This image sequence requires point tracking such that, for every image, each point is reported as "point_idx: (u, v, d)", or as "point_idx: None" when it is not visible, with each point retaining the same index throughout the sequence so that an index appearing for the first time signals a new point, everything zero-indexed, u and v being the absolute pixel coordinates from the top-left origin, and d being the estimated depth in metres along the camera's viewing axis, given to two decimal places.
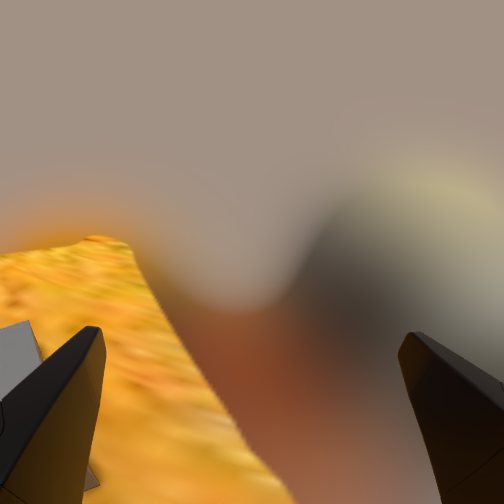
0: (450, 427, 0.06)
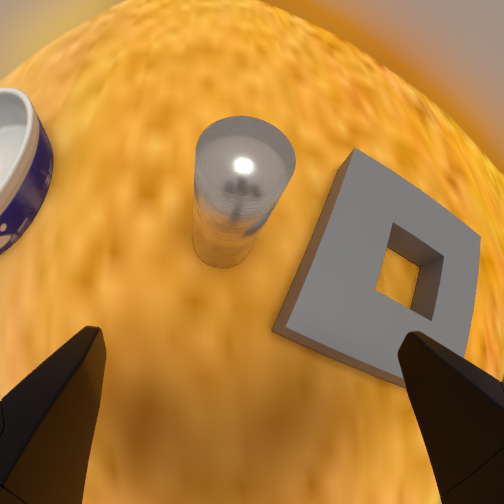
0: (450, 427, 0.06)
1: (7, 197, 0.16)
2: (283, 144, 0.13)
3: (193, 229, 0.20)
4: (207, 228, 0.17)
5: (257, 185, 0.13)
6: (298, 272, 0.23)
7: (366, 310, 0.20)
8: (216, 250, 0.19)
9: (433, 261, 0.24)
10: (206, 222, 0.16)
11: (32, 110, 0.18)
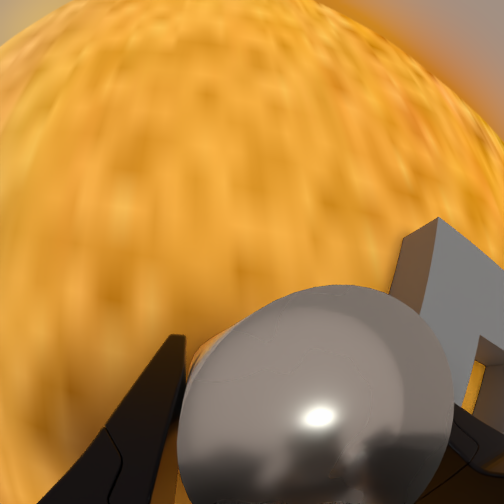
0: None
1: None
2: (435, 375, 0.04)
3: None
4: None
5: None
6: None
7: None
8: None
9: None
10: None
11: None
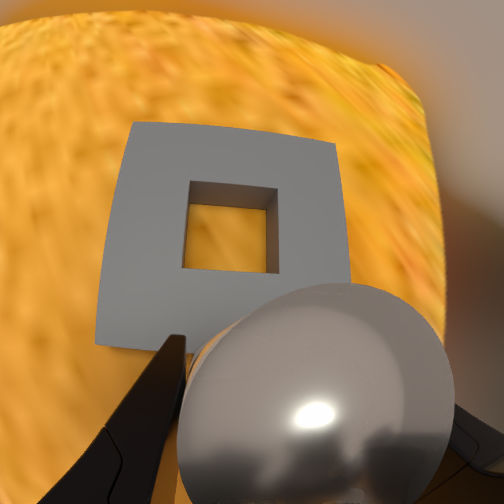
0: None
1: None
2: (435, 374, 0.04)
3: None
4: None
5: None
6: None
7: (177, 295, 0.18)
8: None
9: (272, 198, 0.23)
10: None
11: None
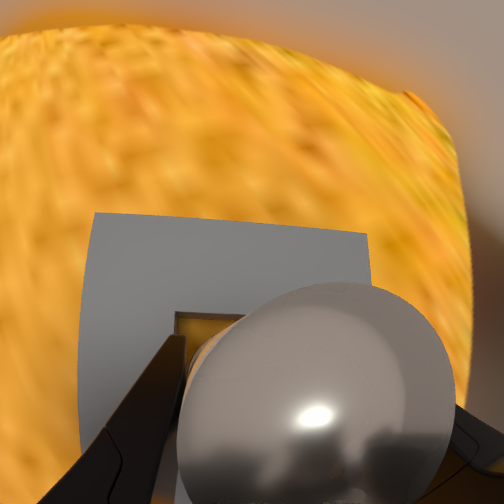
0: None
1: None
2: (436, 373, 0.04)
3: None
4: None
5: None
6: None
7: None
8: None
9: None
10: None
11: None
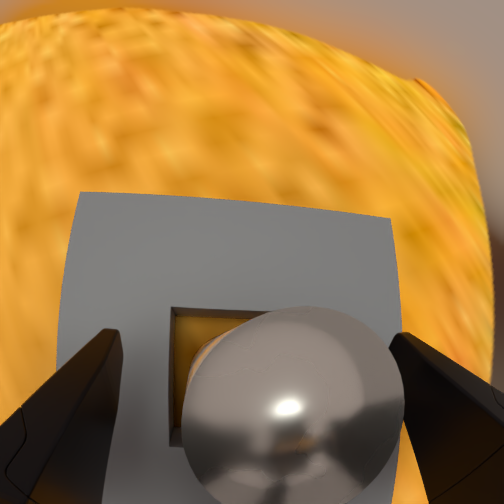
0: (438, 432, 0.06)
1: None
2: (385, 378, 0.05)
3: None
4: None
5: (325, 494, 0.04)
6: None
7: (167, 479, 0.10)
8: None
9: None
10: None
11: None
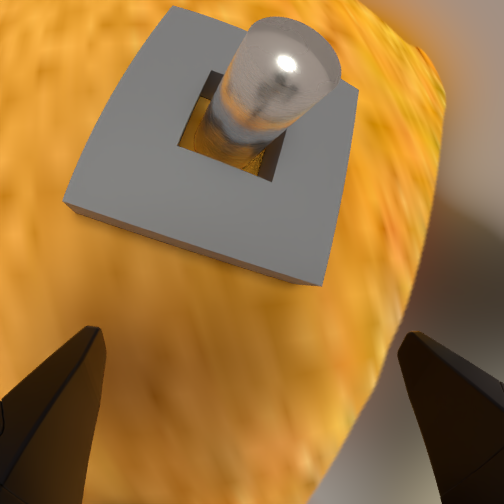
0: (450, 427, 0.06)
1: None
2: (332, 60, 0.11)
3: (203, 120, 0.17)
4: (222, 118, 0.15)
5: (299, 82, 0.11)
6: None
7: (164, 170, 0.16)
8: (220, 146, 0.17)
9: None
10: (225, 109, 0.14)
11: None
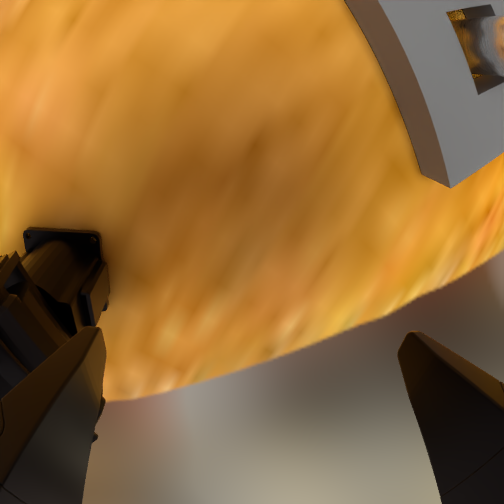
0: (450, 427, 0.06)
1: None
2: None
3: (466, 20, 0.12)
4: (494, 30, 0.10)
5: None
6: None
7: (429, 14, 0.12)
8: (469, 42, 0.12)
9: None
10: (503, 29, 0.09)
11: None
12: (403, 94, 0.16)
